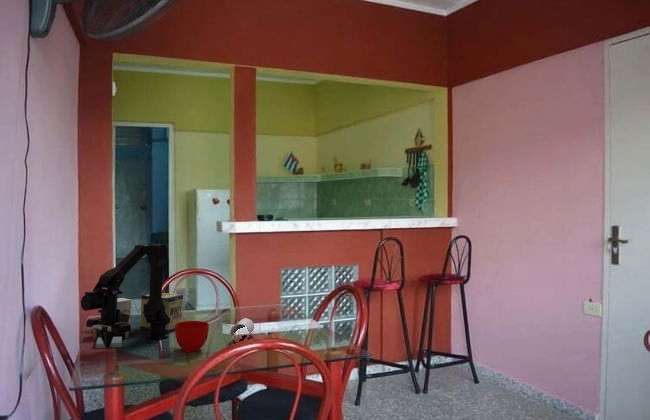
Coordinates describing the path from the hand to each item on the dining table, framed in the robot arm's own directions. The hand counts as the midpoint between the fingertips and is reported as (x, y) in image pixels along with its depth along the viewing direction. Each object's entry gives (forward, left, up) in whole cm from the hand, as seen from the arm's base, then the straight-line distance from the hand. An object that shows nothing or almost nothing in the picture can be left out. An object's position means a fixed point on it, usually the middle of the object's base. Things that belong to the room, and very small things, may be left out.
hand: (107, 347), depth 199 cm
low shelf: (+17, -13, -1) cm, 22 cm away
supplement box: (+31, -25, -1) cm, 39 cm away
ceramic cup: (-19, -23, -1) cm, 30 cm away
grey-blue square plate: (+8, -6, -2) cm, 10 cm away
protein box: (+15, -36, -2) cm, 39 cm away
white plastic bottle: (-22, -49, -2) cm, 54 cm away
